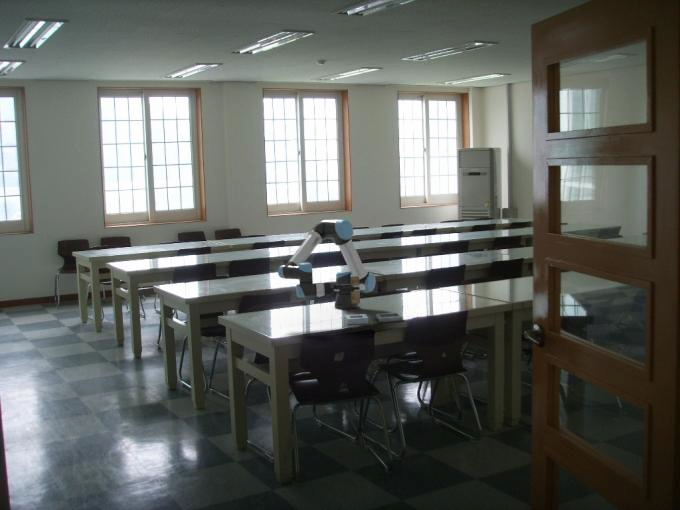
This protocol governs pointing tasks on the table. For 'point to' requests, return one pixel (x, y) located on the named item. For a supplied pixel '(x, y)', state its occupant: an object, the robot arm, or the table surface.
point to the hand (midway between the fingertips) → (364, 286)
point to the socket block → (356, 319)
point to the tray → (389, 317)
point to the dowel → (356, 294)
